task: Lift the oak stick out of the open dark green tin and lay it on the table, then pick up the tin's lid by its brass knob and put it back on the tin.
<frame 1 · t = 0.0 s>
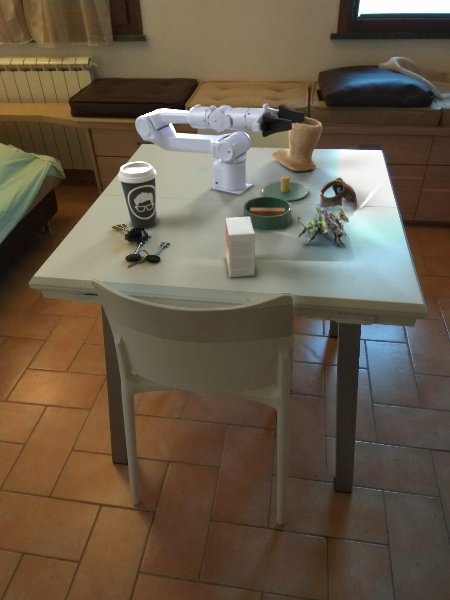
hand: (297, 121, 121), 22 cm above the table, tool horizontal, fingers open, 7 cm apart
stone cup: (297, 166, 155), on the table
tin lid: (284, 192, 137), point 1 cm above the table
passion flower: (321, 244, 114), on the table
small box: (240, 267, 107), on the table
brown hollow shell: (338, 205, 131), on the table
tin: (267, 220, 125), on the table
stick: (267, 219, 125), resting on tin
coffee cup: (144, 223, 126), on the table
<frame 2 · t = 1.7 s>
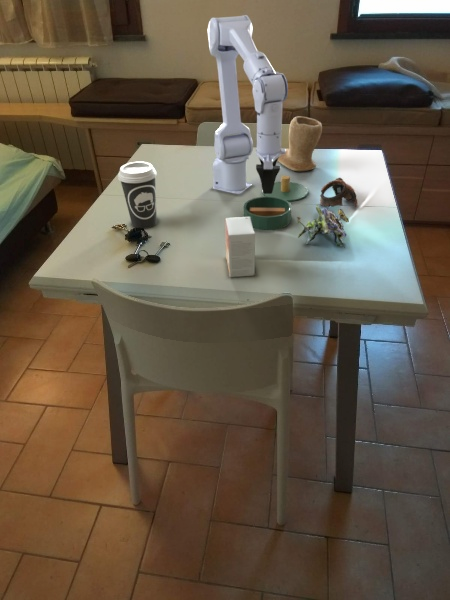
hand: (267, 186, 119), 9 cm above the table, tool pointing down, fingers open, 7 cm apart
nothing on the table moved.
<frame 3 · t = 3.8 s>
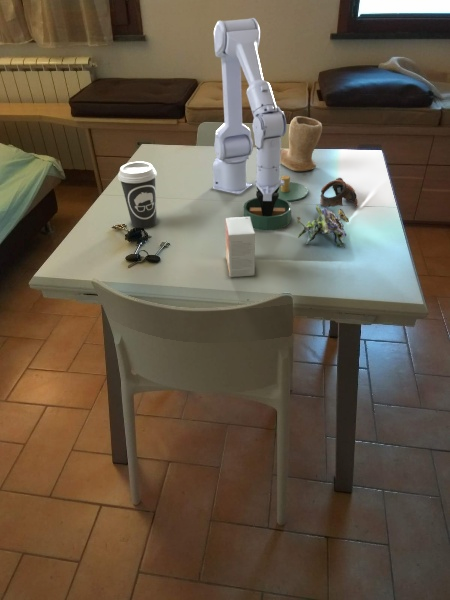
hand: (267, 215, 124), 2 cm above the table, tool pointing down, fingers closed on stick, 2 cm apart
stick: (267, 219, 125), resting on tin, touching gripper
everything else where it was.
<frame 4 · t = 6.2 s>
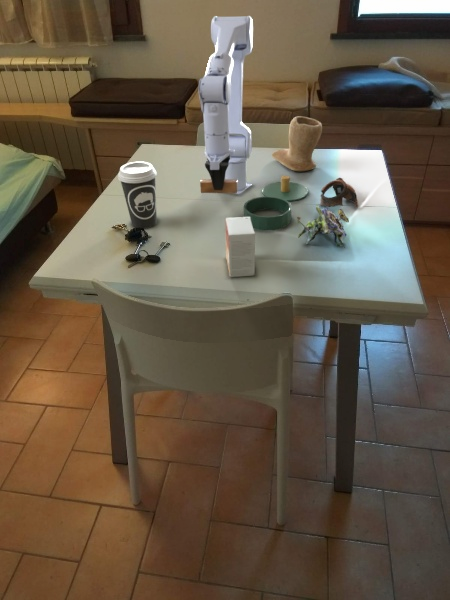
hand: (218, 187, 119), 10 cm above the table, tool pointing down, fingers closed on stick
stick: (219, 191, 119), point 9 cm above the table, touching gripper
everything else where it was.
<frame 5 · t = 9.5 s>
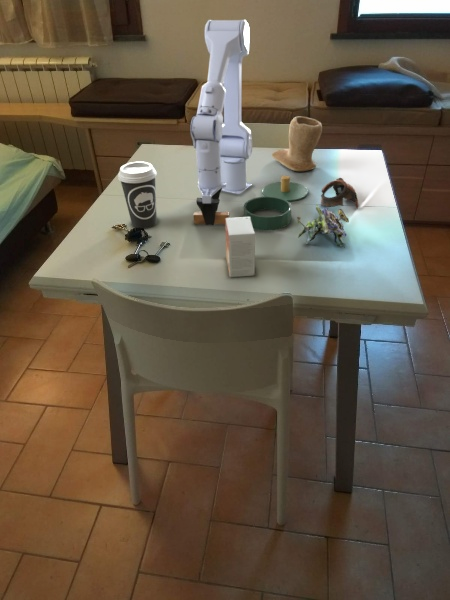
hand: (211, 217, 124), 2 cm above the table, tool pointing down, fingers open, 7 cm apart
stick: (211, 223, 125), on the table
everything else where it was.
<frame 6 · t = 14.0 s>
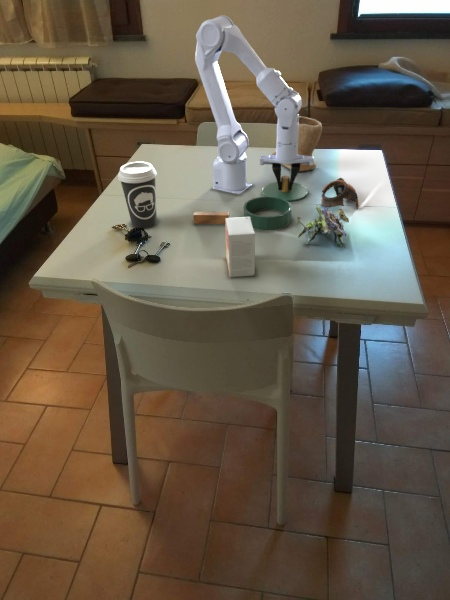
hand: (285, 188, 137), 2 cm above the table, tool pointing down, fingers closed on tin lid, 2 cm apart
tin lid: (284, 192, 137), point 1 cm above the table, touching gripper
everything else where it was.
when the fingers open (5 cm above the table, at t = 18.4 s): tin lid stays where it is, resting on tin.
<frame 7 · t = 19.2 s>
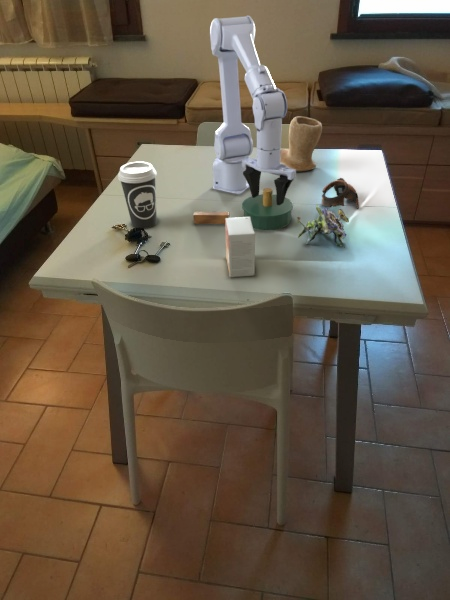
hand: (267, 200, 121), 6 cm above the table, tool pointing down, fingers open, 7 cm apart
tin lid: (267, 206, 122), point 4 cm above the table, touching tin
everything else where it was.
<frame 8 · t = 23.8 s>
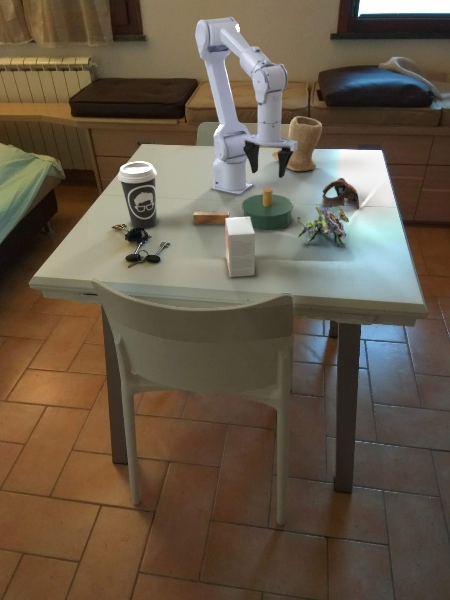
hand: (268, 174, 124), 10 cm above the table, tool pointing down, fingers open, 7 cm apart
nothing on the table moved.
at the end: stick inside the target area (0.0 cm from its centre), on the table; tin lid 0.0 cm off-centre on the tin, point 4.0 cm above the tin's base; tin lid tilted 0° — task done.
